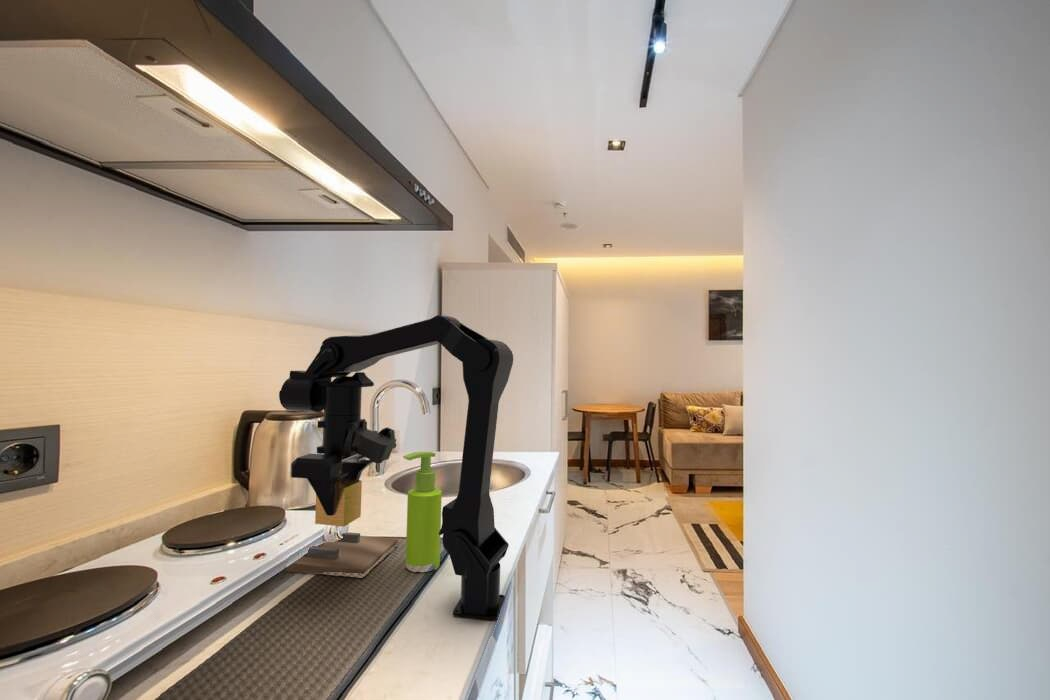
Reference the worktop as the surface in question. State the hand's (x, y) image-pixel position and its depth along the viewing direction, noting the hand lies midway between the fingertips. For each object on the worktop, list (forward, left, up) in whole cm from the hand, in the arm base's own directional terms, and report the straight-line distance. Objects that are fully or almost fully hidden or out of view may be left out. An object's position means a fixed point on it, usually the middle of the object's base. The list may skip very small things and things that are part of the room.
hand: (339, 509), depth 78 cm
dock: (+9, +3, -12) cm, 15 cm away
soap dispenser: (+8, -11, -12) cm, 18 cm away
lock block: (0, 0, -2) cm, 2 cm away
